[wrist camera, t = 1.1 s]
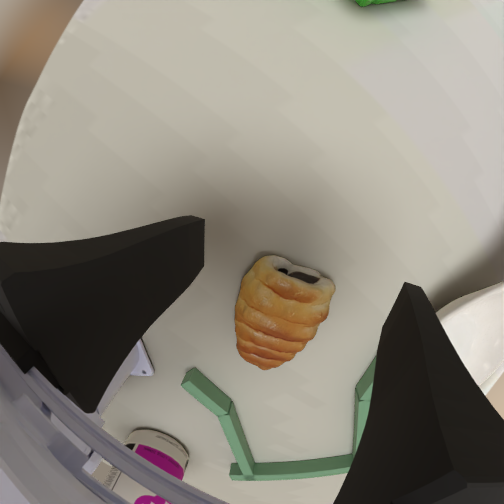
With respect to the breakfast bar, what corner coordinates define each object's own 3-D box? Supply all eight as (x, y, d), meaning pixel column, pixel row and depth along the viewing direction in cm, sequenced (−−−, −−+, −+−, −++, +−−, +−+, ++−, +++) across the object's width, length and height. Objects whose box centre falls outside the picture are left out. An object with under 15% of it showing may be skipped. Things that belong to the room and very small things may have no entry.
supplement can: (175, 427, 29) (131, 531, 15) (198, 464, 31) (170, 555, 17) (121, 423, 30) (71, 508, 16) (148, 459, 32) (112, 537, 18)
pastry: (293, 366, 25) (293, 394, 21) (221, 342, 25) (211, 369, 21) (337, 273, 22) (346, 293, 18) (254, 244, 22) (248, 260, 19)
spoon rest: (443, 393, 25) (466, 437, 18) (368, 366, 24) (386, 421, 17) (552, 209, 18) (597, 223, 11) (494, 139, 17) (548, 137, 10)
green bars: (229, 468, 31) (216, 530, 21) (184, 367, 26) (146, 446, 16) (379, 454, 28) (392, 517, 18) (393, 342, 23) (433, 422, 13)
